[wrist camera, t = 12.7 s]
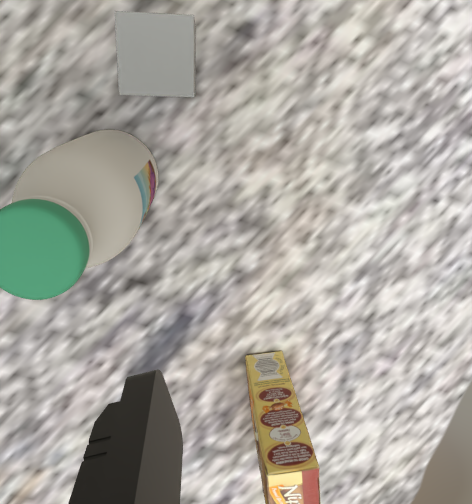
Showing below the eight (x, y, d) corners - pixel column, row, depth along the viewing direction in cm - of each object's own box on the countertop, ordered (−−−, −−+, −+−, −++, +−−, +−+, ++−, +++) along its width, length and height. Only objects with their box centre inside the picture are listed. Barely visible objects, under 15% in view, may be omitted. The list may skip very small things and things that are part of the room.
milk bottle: (50, 173, 38) (-101, 257, 19) (109, 108, 36) (9, 129, 17) (119, 233, 40) (44, 361, 21) (177, 175, 38) (153, 256, 20)
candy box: (243, 353, 45) (262, 476, 31) (284, 348, 46) (321, 467, 31) (251, 421, 49) (271, 560, 34) (289, 416, 49) (325, 552, 34)
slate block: (134, 93, 36) (119, 94, 29) (131, 25, 34) (114, 11, 28) (195, 95, 36) (193, 97, 30) (195, 28, 35) (193, 15, 28)
